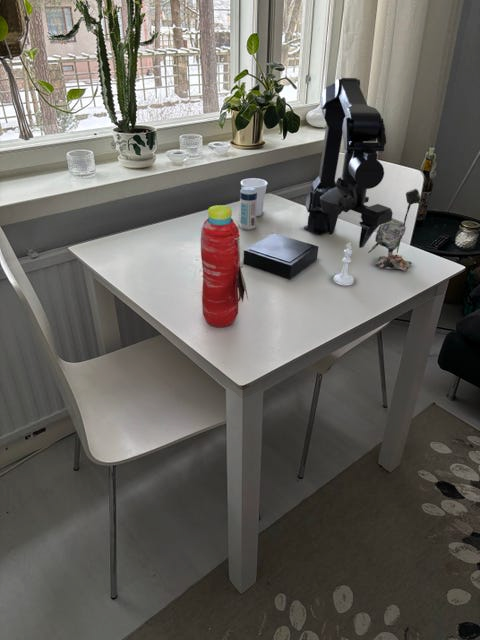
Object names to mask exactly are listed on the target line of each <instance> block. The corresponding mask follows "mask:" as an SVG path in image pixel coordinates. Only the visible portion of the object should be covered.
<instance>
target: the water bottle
mask: <svg viewBox="0 0 480 640" xmlns="http://www.w3.org/2000/svg"><path fill="white" fill-rule="evenodd" d="M207 216H208V218H207V219H205V221H204V222H203V225H202V227H201V231H200V258H201V265H202V266H201V269H202V276H201V278H202V290H201V306H202V316H203V318H204V320H205V322H206V323H207V324H209V325H210V326H211V327H214V328H226V327H228V326H231V325H232V324H233V322H235V320H236V319H237V317H238V314H239V302H240V301H241V302H242V303H244V297H245V295H246V298H247V300H249V297H248V296H249V295H248V291H247V284H246V280H245V277H244V275H243V271H242V269H243V268H244V265H241V247H240V231H239V227H238V226H237V224H236V223H235V221H234V219H233V218H232V208H231V207H229V206H227V205H223V204H222V205H221V204H219V205H213V206H210V207H208V209H207Z"/></svg>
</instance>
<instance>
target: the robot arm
mask: <svg viewBox="0 0 480 640" xmlns="http://www.w3.org/2000/svg"><path fill="white" fill-rule="evenodd" d="M320 109H321V113H322V116H323V118H324V120H325V123H326V124H325V130H324V131H325V132H324V137H323V145H322V150H321V152H322V153H321V159H320V164H319V165H320V166H319V173H318V175H317V177H316V178H315V179H314V180H313V181H312V183H311V188H310V190H309V191H308V193H307V196H306V199H305V209H306V212H307V213H308V216H307V225H305V226H303V229H304V230H306V231H308V232H310V233H313V234H316V235H318V236H322V235H324V234H327V233H328V235H329V236H332V235H333V234H334V233H335V230H336V226H337V222H338V218H339V216H340V215H341V214H342V213H343V212H344V213H348V212H349V211H353V212H356V213H359V214H361V215H360V219H361V221H359V225H360V227H361V229H360V234H359V235H360V236H359V242H358V248H359V249H362V248H364V247H365V246H366V244H367V243H368V241H369V239H370V238H371V237H372V235H373V234H374V232H375V231H377V230H378V228H379V226H380V225H381V224H384V223H387V222H389V221H391V220H392V218H393V215H394V214H393V213H394V212H393V210H392V208H391V207H389V206H385V205H383V204H379V203H376V204H372V205H370V206H369V205H365V204H367V203H369V200H370V197H369V196H367V190H369V189H370V190H371V189H373V188H375V187H377V186H378V185H380V184H381V182H382V181H383V179H384V177H385V169H384V166H383V164H382V163H381V162H380V161H379V160H378V153H377V152H384V151H385V146H386V144H387V135H386V125H385V123H384V118H383V117H382V115H381V113H380V112H379V111H378V109H377V108H376V107H373V106H370V105H368V103H367V100H366V98H365V95H364V93H363V91H362V88H361V80H360V79H359V78H357V77H340V78H337V79H336V80H335V82H334V83H332V84H330V85H328V86H326V87H325V88H324V90H323V91H322V94H321V98H320ZM342 141H343V148H344V150H345V151H344V157H343V164H342V171H341V177H337V180H336V176H337V169H338V163H339V157H340V151H341V145H342Z"/></svg>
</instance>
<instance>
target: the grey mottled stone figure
mask: <svg viewBox="0 0 480 640" xmlns="http://www.w3.org/2000/svg"><path fill="white" fill-rule="evenodd" d="M405 198H406V199H405V200H406V202H407V204H408V205H407V208H406V212H405V213H406V214H405V216H404V220H403V221H401V220H398V219H396V218H394V217H392V220H391V221H389V222H387V223H384V224H381V225H379V226H378V228H377V230H376V234H375V238H374V239H375V242H376V243H375V244H374V245H373V246H372V247H371V248H370V249H368V252H367V253H368V254H370V253H371V252H373V250H375V249H376V248H377V247H378V246H380V247H383V248H386V249H387V256H385V255H383V256H381V255H380V257H378V259H377V261H376V263H375V266H376V267H379V268H381V269H382V268H383V269H388V270H391V269H392V270H394V269H396V270H399V269H400V270H402V271H403V272H405V271H408V270H409V268H410V267H411V265H412V264H413V262H411V261H408V260H405V259H404V258H403V255H402V254H398V253H399V248H400V245H401V241H402V239H403V236H404V235H405V233H406V229H407V228H406V221H407V219H408V218H407V217H408V215H409V212H410V209H411V206H412V205H413V204H418V205H419V206H420V207H421V206H422V204H421V199H422V197H421V194H420V192H419V189H417V188H414V189H411V190H408V191H406V193H405ZM395 250H396V254H393V253H394V251H395Z"/></svg>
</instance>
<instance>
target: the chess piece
mask: <svg viewBox="0 0 480 640" xmlns="http://www.w3.org/2000/svg"><path fill="white" fill-rule="evenodd" d="M351 244H352V243H351V242H347V244H345V247H346V248H345V249H344V250H343V254H344V257H343V258H342V259H341V261H342V262H343V265H342V269H341V272H340V273H337V274H335V275H334V276H333V282H334V283H335V284H337V285H340V286H351V285H353V284H354V282H355V281H354V280H355V278H354V277H353V276H352V275H350V274H349V263H352V259H351V255H352V254H353V250H352V249H353V246H352V245H351Z"/></svg>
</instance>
